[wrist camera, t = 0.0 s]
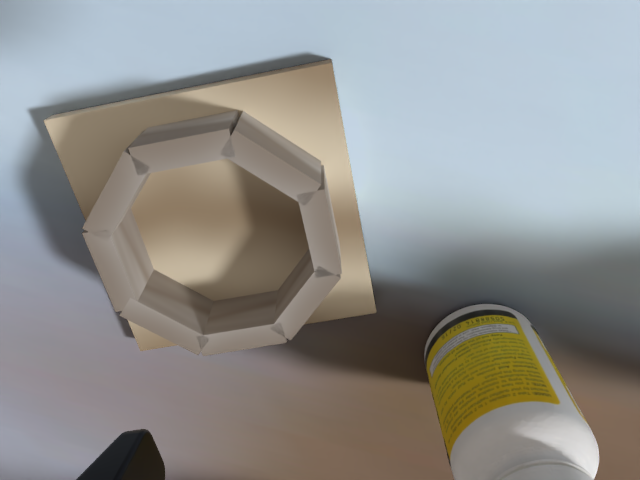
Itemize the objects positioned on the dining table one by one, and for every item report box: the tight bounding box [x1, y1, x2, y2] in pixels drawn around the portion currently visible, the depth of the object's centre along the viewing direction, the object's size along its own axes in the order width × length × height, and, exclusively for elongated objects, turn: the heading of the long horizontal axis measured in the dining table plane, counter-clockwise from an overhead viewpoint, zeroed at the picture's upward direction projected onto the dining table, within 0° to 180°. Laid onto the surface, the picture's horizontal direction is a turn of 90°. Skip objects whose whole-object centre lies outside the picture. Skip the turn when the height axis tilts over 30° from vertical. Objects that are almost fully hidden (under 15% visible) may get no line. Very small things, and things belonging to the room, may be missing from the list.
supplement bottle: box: [424, 304, 599, 480], centre depth 23 cm, size 5×5×10 cm
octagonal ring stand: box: [44, 59, 376, 356], centre depth 23 cm, size 11×11×3 cm
